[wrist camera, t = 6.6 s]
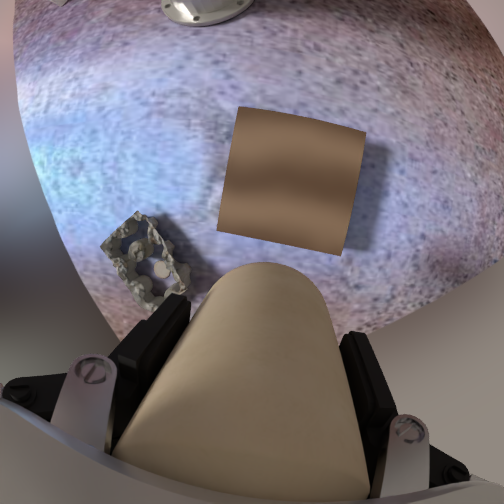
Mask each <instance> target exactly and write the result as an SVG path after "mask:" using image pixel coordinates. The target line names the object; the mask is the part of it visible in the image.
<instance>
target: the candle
mask: <svg viewBox="0 0 504 504" xmlns="http://www.w3.org/2000/svg"><path fill="white" fill-rule="evenodd" d="M112 457H114V458H117V459H119V460H121V461H123V462H126V463H128V464H130V465H133V466H135V467H138V468H140V469H143V470H146V471H148V472H151V473H154V474H157V475H160V476H162V477H165V478H169V479H172V480H175V481H178V482H182V483H185V484H189V485H192V486H196V487H200V488H204V489H209V490H213V491H218V492H222V493H227V494H233V495H239V496H245V497H252V498H260V499H268V500H279V501H295V502H340V501H356V500H366V499H367V497H368V495H369V493H370V484H369V478H368V472H367V466H366V461H365V456H364V451H363V446H362V441H361V436H360V431H359V427H358V422H357V418H356V413H355V409H354V405H353V400H352V396H351V392H350V388H349V384H348V380H347V376H346V372H345V368H344V364H343V361H342V357H341V353H340V350H339V346H338V342H337V339H336V335H335V332H334V328H333V325H332V321H331V318H330V314H329V311H328V309H327V306H326V303H325V301H324V298H323V296H322V294H321V293H320V291H319V290H318V288H317V287H316V286H315V285H314V283H313V282H312V281H311V280H310V279H309V278H307V277H306V276H305V275H303V274H302V273H301V272H299V271H297V270H295V269H293V268H291V267H288V266H286V265H282V264H278V263H271V262H257V263H250V264H246V265H242V266H240V267H238V268H235V269H233V270H231V271H230V272H228V273H227V274H225V275H224V276H223V277H221V278H220V279H219V280H218V281H217V282H216V283H215V284H214V285H213V287H212V288H211V289H210V291H209V292H208V294H207V295H206V297H205V298H204V300H203V301H202V303H201V304H200V306H199V308H198V309H197V311H196V313H195V314H194V316H193V317H192V319H191V321H190V322H189V324H188V326H187V327H186V329H185V330H184V332H183V334H182V335H181V337H180V339H179V340H178V342H177V344H176V345H175V347H174V348H173V350H172V352H171V353H170V355H169V357H168V358H167V360H166V362H165V363H164V365H163V367H162V368H161V370H160V372H159V373H158V375H157V377H156V378H155V380H154V382H153V383H152V385H151V387H150V388H149V390H148V392H147V393H146V395H145V397H144V398H143V400H142V402H141V404H140V405H139V407H138V409H137V410H136V412H135V414H134V415H133V417H132V419H131V421H130V422H129V424H128V426H127V427H126V429H125V431H124V433H123V434H122V436H121V438H120V439H119V441H118V443H117V445H116V447H115V448H114V450H113V452H112Z"/></svg>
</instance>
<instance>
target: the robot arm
mask: <svg viewBox="0 0 504 504" xmlns="http://www.w3.org/2000/svg"><path fill="white" fill-rule="evenodd" d="M253 1H254V0H162V2H161V6H162V10H163V12H164V13H165V15H166V16H167V17H168V18H169V19H170V20H172V21H173V22H175V23H177V24H180V25H184V26H206V25H212V24H216V23H220V22H223V21H225V20H228V19H230V18H232V17H234V16H236V15H238V14H240V13H241V12H243V11H244V10H246V9H247V8H248V7H249V6H250V5H251V4H252V3H253ZM190 311H191V302H190V301H187V297H186V296H183V295H179V294H175V293H171V294H170V295H169V296H168V297H167V298H166V299H165V300H164V302H163V303H162V304H161V305H160V306H159V307H158V308H157V309H156V311H155V312H154V313H153V314H152V315H151V316H150V317H149V318H148V320H141V321H140V322H139V323H138V324H137V325H136V326H135V327H134V328H133V329H132V330H131V331H130V333H129V334H128V335H127V336H126V337H125V338H124V339H123V340H122V341H121V343H120V344H119V345H118V346H117V347H116V348H115V349H114V351H113V352H112V353H111V354H110V355H109V356H108V357H106V356H103V355H99V354H87V355H83V356H80V357H78V358H77V359H75V360H74V361H73V363H72V364H71V366H70V368H69V371H68V373H62V374H53V375H44V376H32V377H20V378H15V379H13V380H11V381H9V382H8V383H7V384H6V385H5V387H3V385H2V383H0V504H504V487H503V486H502V485H500V484H497V483H494V482H489V481H487V480H485V479H482V478H480V477H478V476H476V475H473V474H471V475H469V471H468V469H467V468H466V466H465V465H464V464H462V463H461V462H460V461H458V460H456V459H454V458H452V457H450V456H449V455H447V454H445V453H444V452H442V451H440V450H439V449H437V448H435V447H433V446H431V445H430V444H429V433H428V429H427V427H426V425H425V424H424V423H423V422H422V421H421V420H420V419H418V418H417V417H415V416H412V415H407V414H403V415H398V412H397V409H396V405H395V402H394V400H393V397H392V395H391V392H390V390H389V387H388V385H387V382H386V380H385V377H384V375H383V372H382V370H381V368H380V366H379V363H378V361H377V359H376V356H375V354H374V351H373V349H372V347H371V345H370V343H369V340H368V338H367V336H366V334H365V333H362V332H355V331H350V332H349V334H345V335H344V336H343V338H342V340H341V343H340V345H339V350H340V353H341V357H342V361H343V364H344V368H345V372H346V376H347V380H348V384H349V388H350V392H351V396H352V400H353V405H354V409H355V413H356V418H357V422H358V427H359V431H360V436H361V441H362V446H363V451H364V456H365V461H366V466H367V472H368V478H369V484H370V493H369V495H368V497H367V499H366V500H356V501H340V502H295V501H279V500H268V499H260V498H252V497H245V496H239V495H233V494H227V493H222V492H218V491H213V490H209V489H204V488H200V487H196V486H192V485H189V484H185V483H182V482H178V481H175V480H172V479H169V478H165V477H162V476H160V475H157V474H154V473H151V472H148V471H146V470H143V469H140V468H138V467H135V466H133V465H130V464H128V463H126V462H123V461H121V460H119V459H117V458H114V457H112V452H113V450H114V448H115V447H116V445H117V443H118V441H119V439H120V438H121V436H122V434H123V433H124V431H125V429H126V427H127V426H128V424H129V422H130V421H131V419H132V417H133V415H134V414H135V412H136V410H137V409H138V407H139V405H140V404H141V402H142V400H143V398H144V397H145V395H146V393H147V392H148V390H149V388H150V387H151V385H152V383H153V382H154V380H155V378H156V377H157V375H158V373H159V372H160V370H161V368H162V367H163V365H164V363H165V362H166V360H167V358H168V357H169V355H170V353H171V352H172V350H173V348H174V347H175V345H176V344H177V342H178V340H179V339H180V337H181V335H182V334H183V332H184V330H185V329H186V327H187V326H188V324H189V321H190Z"/></svg>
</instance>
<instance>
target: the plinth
mask: <svg viewBox="0 0 504 504" xmlns="http://www.w3.org/2000/svg"><path fill="white" fill-rule="evenodd" d="M365 138H366V132H363V131H359V130H356V129H352V128H349V127H345V126H341V125H337V124H333V123H329V122H325V121H321V120H316V119H312V118H307V117H302V116H297V115H292V114H287V113H281V112H275V111H269V110H263V109H256V108H248V107H240V106H239V107H238V112H237V117H236V122H235V127H234V132H233V137H232V143H231V148H230V153H229V159H228V164H227V170H226V176H225V181H224V187H223V193H222V199H221V205H220V211H219V218H218V224H217V230H216V231H220V232H225V233H231V234H236V235H241V236H246V237H251V238H256V239H261V240H265V241H270V242H275V243H280V244H285V245H290V246H295V247H299V248H304V249H309V250H314V251H319V252H323V253H328V254H333V255H337V256H341V254H342V250H343V246H344V242H345V238H346V234H347V230H348V226H349V221H350V217H351V213H352V208H353V203H354V199H355V194H356V189H357V184H358V179H359V173H360V168H361V162H362V157H363V151H364V144H365Z"/></svg>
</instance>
